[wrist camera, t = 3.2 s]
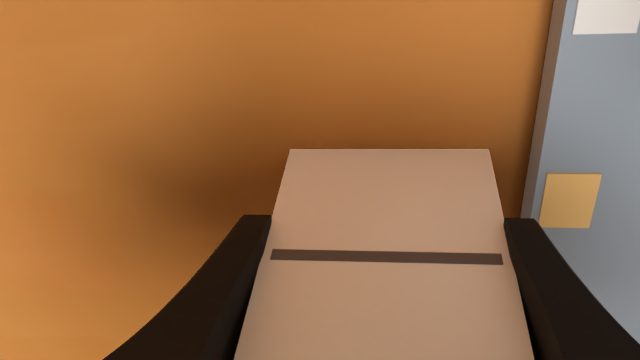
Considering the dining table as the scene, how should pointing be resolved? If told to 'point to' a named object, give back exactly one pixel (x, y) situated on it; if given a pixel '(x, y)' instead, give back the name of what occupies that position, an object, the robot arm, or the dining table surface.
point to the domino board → (591, 150)
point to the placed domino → (386, 261)
